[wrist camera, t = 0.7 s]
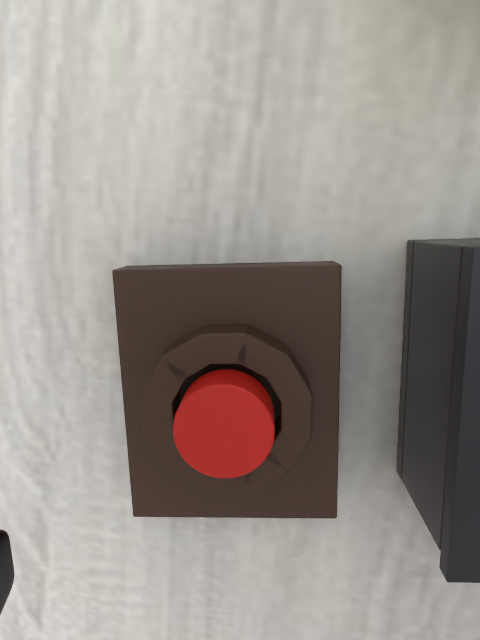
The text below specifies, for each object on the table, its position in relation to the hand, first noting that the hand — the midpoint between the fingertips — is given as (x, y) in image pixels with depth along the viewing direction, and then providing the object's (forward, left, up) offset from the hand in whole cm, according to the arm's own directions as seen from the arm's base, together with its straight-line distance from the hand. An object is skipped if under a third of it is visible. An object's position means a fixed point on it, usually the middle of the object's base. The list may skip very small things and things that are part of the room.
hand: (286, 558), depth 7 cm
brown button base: (-3, 0, -13) cm, 13 cm away
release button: (-3, 0, -10) cm, 10 cm away
